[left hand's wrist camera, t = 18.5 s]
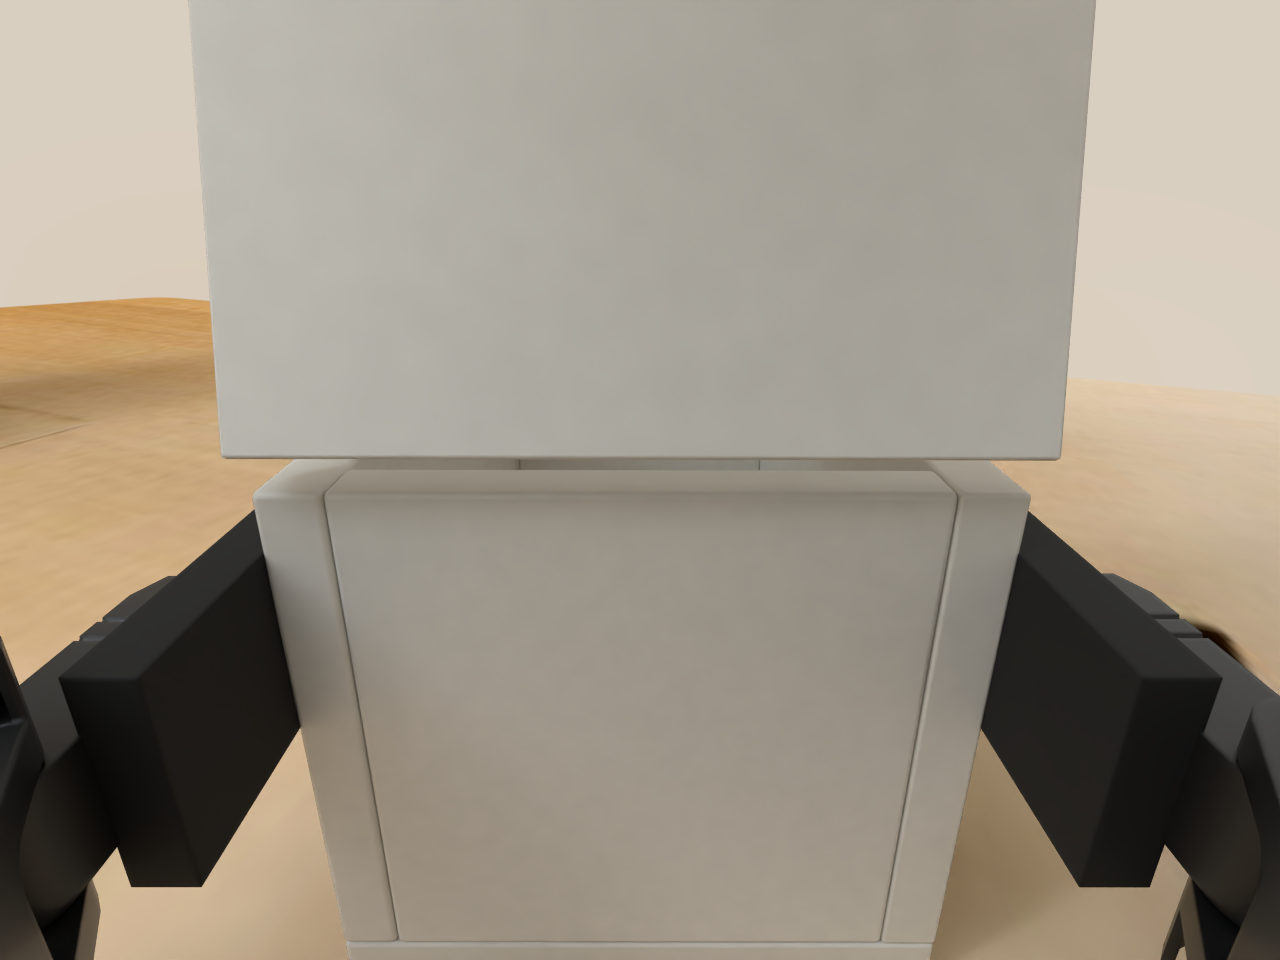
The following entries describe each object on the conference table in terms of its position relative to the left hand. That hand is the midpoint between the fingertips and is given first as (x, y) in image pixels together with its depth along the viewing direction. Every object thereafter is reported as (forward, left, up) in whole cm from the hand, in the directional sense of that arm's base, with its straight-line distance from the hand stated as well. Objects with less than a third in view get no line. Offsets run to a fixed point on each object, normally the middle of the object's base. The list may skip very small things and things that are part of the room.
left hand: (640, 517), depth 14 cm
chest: (+3, -2, -6) cm, 7 cm away
